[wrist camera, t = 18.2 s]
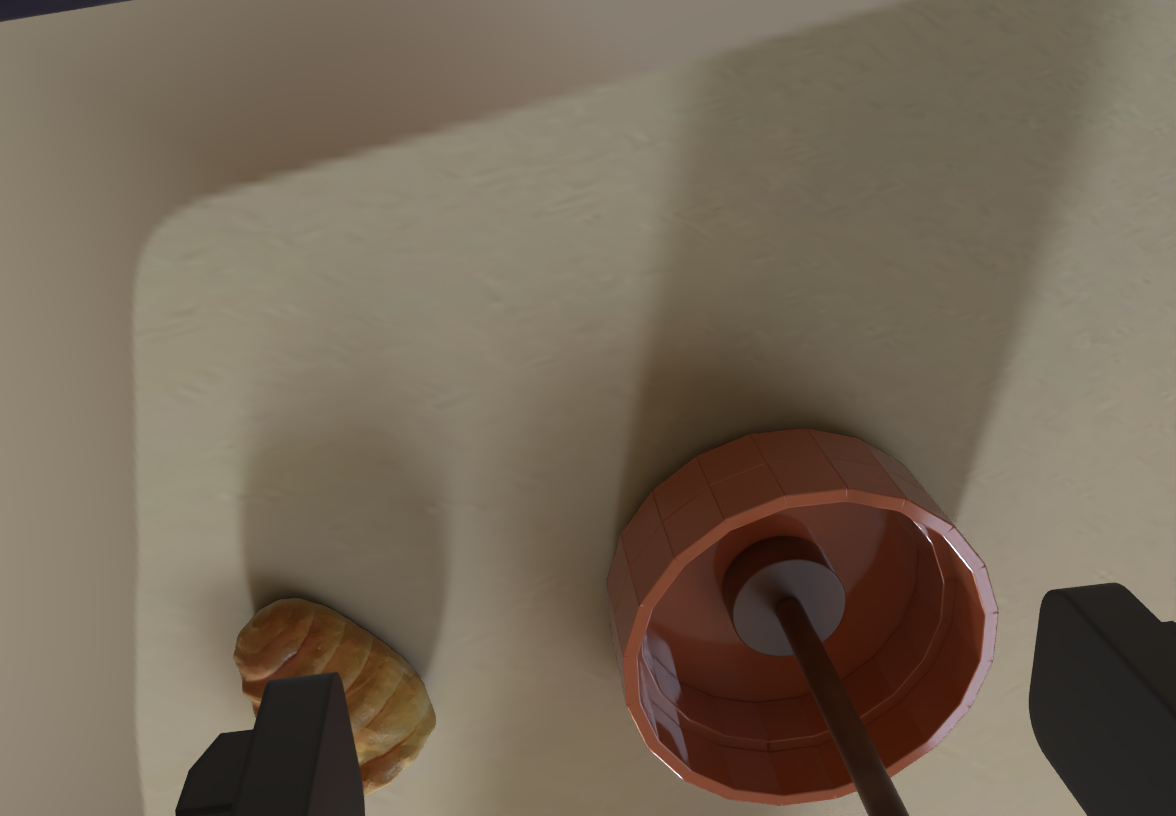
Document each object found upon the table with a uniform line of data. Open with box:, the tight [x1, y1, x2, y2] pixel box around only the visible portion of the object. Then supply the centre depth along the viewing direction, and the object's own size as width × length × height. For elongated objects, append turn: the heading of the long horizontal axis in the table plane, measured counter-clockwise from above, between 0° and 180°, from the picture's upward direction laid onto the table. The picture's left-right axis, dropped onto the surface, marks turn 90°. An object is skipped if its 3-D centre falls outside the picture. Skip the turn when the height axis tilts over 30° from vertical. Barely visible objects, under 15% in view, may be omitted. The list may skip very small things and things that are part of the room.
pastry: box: [234, 598, 436, 796], centre depth 46 cm, size 9×7×4 cm
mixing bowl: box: [607, 428, 998, 806], centre depth 45 cm, size 15×15×6 cm
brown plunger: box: [722, 536, 909, 816], centre depth 40 cm, size 5×5×16 cm
